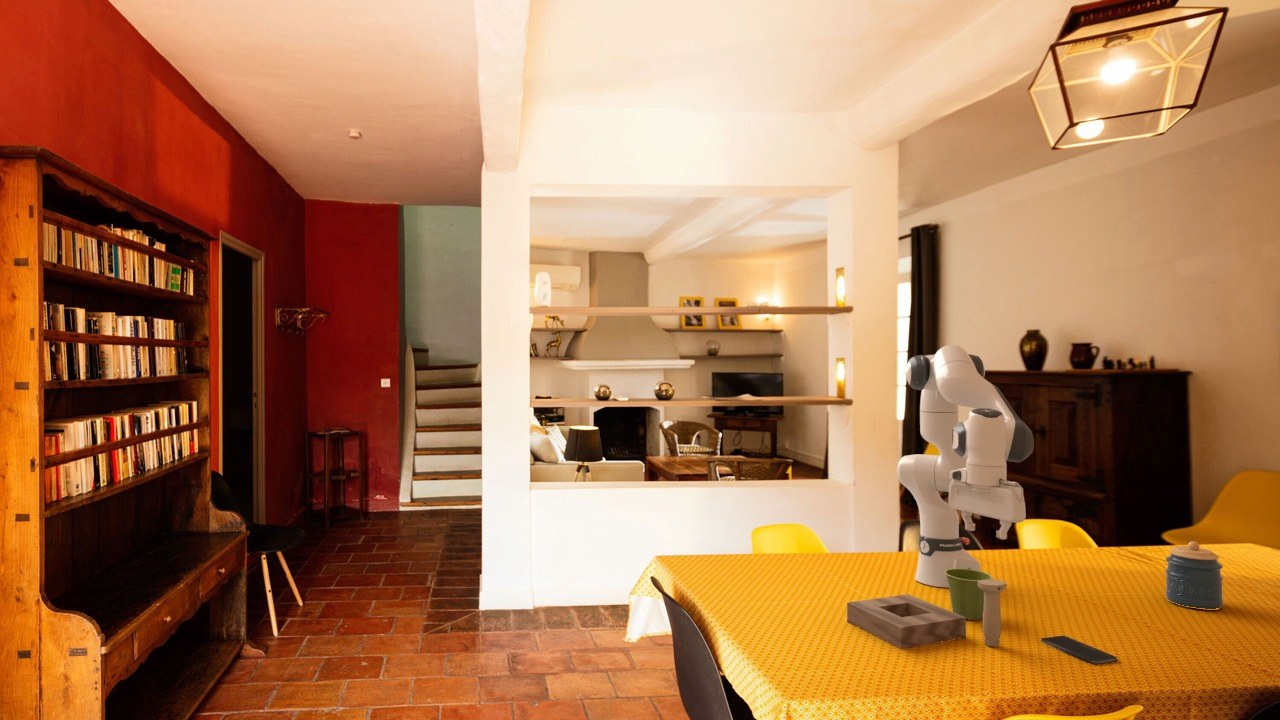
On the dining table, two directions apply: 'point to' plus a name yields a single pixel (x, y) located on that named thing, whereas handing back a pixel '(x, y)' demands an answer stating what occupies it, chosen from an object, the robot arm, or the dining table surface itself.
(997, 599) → the handle
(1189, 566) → the canister
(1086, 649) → the phone
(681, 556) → the dining table surface
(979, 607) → the plant pot
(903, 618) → the socket block
